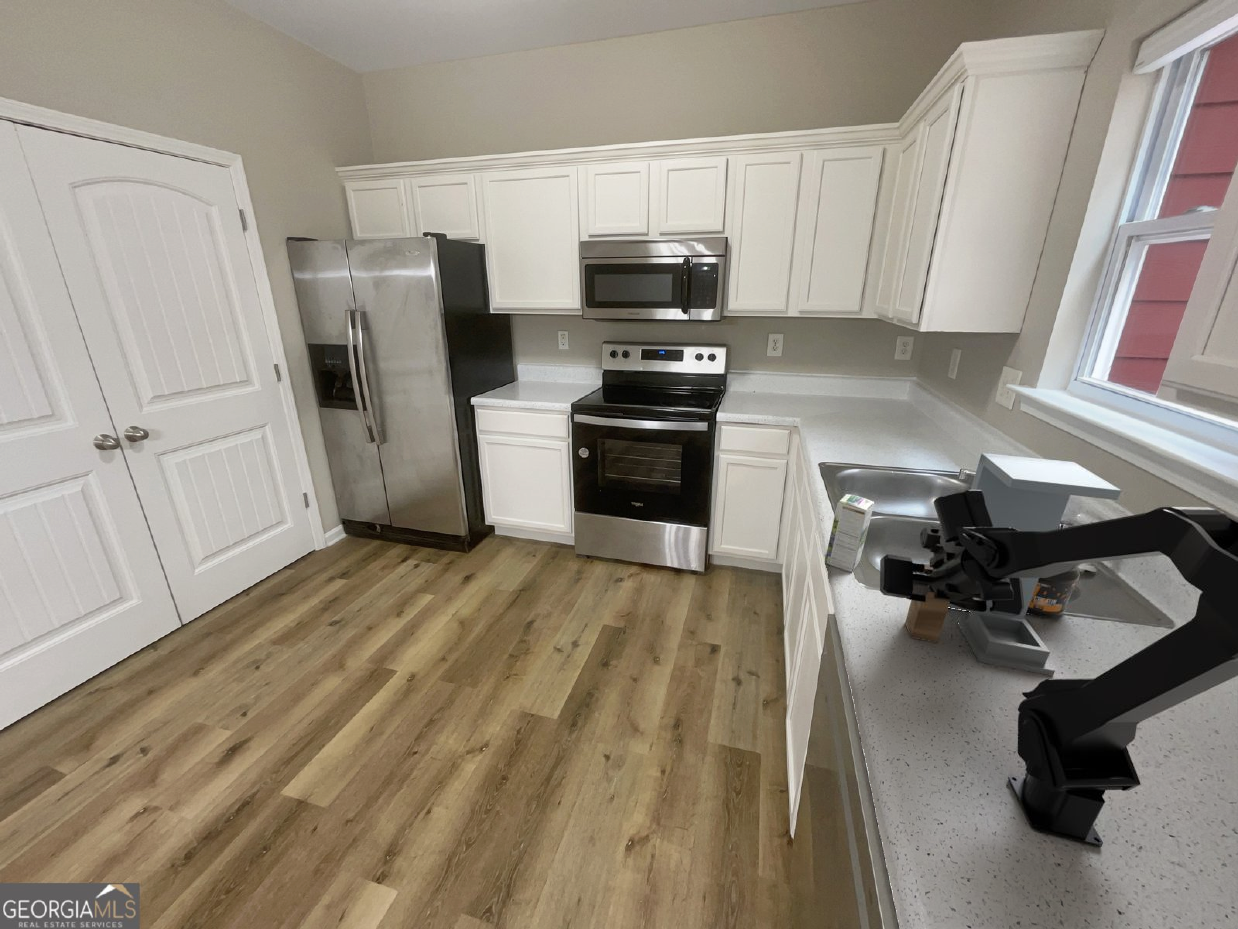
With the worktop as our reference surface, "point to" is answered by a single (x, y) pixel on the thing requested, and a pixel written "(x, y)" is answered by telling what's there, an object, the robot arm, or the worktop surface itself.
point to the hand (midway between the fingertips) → (928, 595)
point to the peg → (926, 617)
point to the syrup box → (849, 532)
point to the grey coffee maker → (1033, 497)
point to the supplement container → (1053, 594)
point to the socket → (1006, 642)
